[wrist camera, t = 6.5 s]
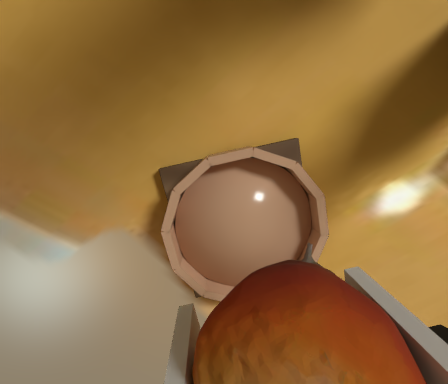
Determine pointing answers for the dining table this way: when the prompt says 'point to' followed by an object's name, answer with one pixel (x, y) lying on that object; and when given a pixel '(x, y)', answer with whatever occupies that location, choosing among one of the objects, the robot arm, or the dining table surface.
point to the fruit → (300, 333)
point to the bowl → (241, 219)
